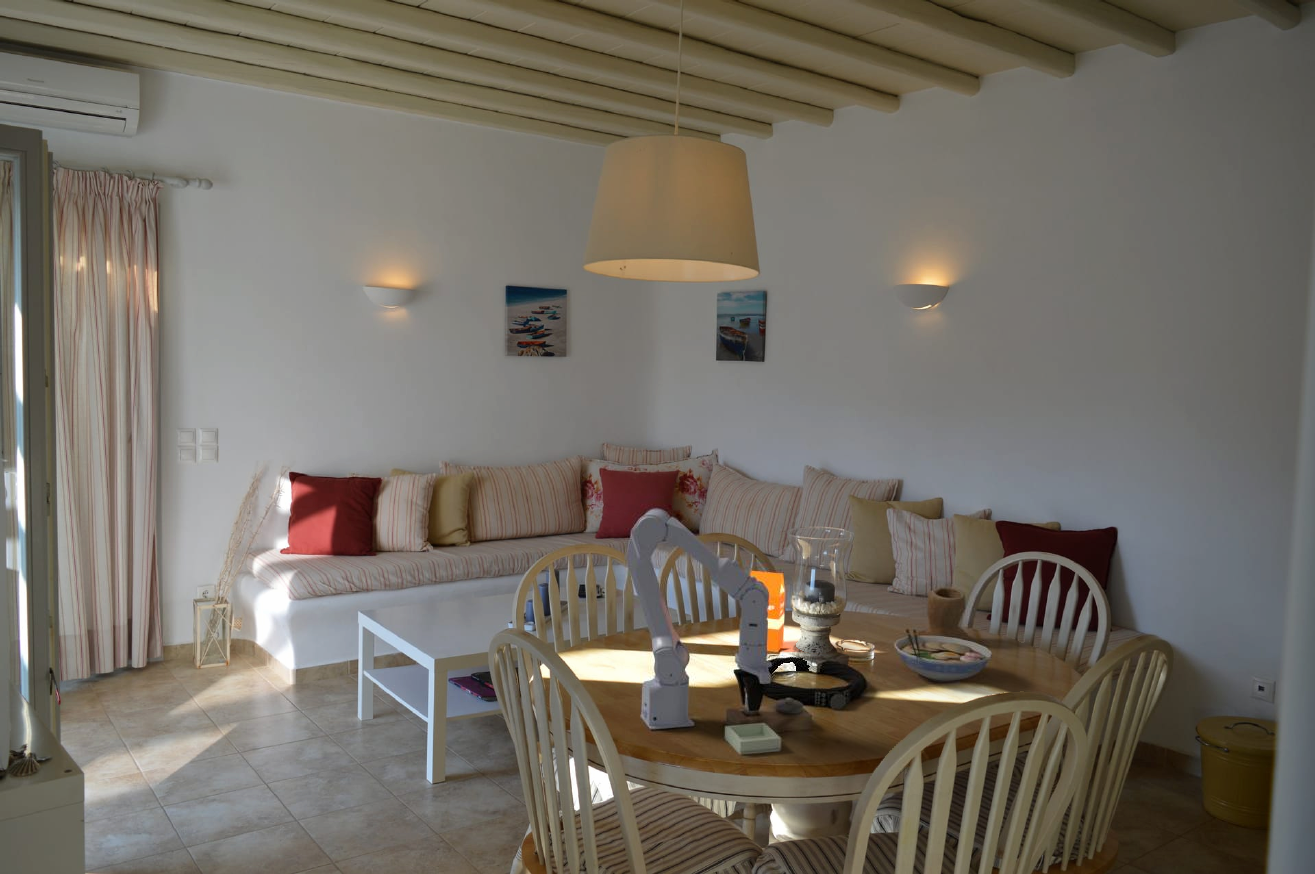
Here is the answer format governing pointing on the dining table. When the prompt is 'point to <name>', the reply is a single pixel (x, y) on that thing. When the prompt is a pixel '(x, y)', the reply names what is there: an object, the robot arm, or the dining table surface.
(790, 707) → the block
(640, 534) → the robot arm
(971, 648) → the ramen bowl
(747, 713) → the lock pin
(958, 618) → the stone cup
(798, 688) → the cable lock
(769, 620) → the orange juice
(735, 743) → the tray
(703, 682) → the dining table surface
